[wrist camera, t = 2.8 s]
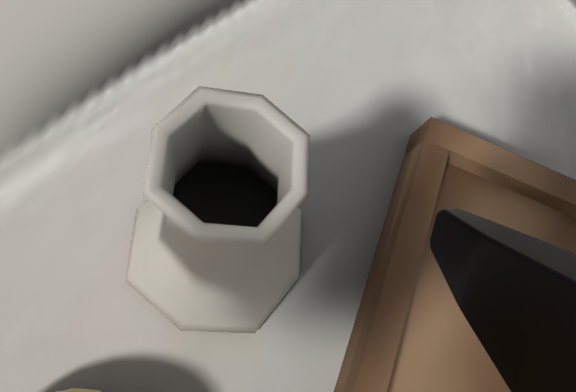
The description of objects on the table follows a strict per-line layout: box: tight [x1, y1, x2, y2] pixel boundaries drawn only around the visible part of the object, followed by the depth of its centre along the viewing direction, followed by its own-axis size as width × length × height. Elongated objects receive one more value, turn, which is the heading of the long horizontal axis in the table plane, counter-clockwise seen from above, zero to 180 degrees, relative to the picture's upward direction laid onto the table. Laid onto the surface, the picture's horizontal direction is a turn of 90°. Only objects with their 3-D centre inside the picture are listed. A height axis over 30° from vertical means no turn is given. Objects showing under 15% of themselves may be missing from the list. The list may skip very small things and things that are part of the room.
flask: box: [126, 86, 310, 333], centre depth 13 cm, size 7×7×10 cm
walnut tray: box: [334, 117, 576, 392], centre depth 17 cm, size 15×15×2 cm
